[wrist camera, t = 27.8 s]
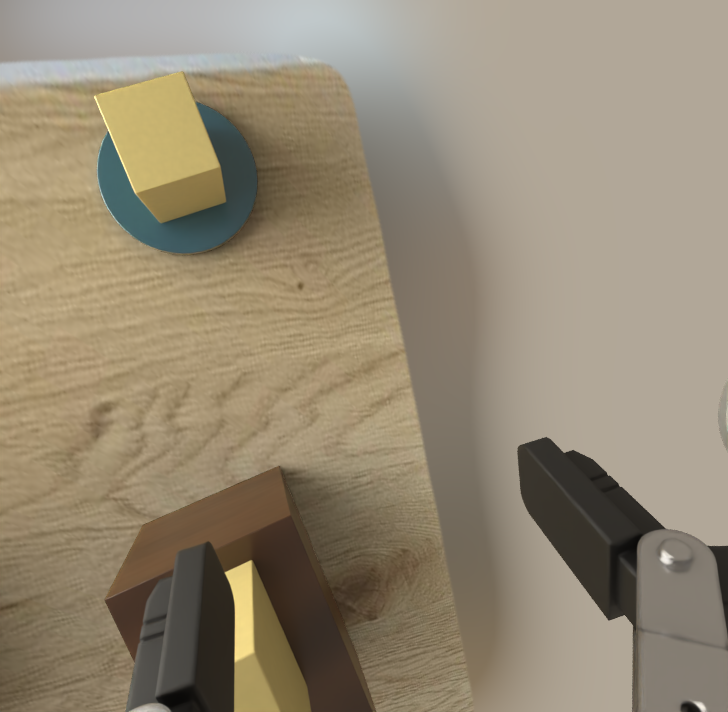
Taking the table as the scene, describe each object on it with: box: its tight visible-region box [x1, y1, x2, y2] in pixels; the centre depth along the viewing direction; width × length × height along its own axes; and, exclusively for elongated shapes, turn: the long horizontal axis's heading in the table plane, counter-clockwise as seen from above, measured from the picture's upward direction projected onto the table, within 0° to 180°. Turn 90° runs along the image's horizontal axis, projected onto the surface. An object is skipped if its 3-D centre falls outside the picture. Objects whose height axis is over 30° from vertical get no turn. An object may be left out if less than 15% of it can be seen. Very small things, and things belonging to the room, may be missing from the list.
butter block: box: [225, 560, 311, 712], centre depth 24 cm, size 8×4×8 cm, turn 21°
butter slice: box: [95, 72, 226, 223], centre depth 30 cm, size 5×4×8 cm
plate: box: [97, 102, 258, 255], centre depth 34 cm, size 10×10×1 cm
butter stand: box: [105, 466, 376, 712], centre depth 33 cm, size 16×10×10 cm, turn 21°
